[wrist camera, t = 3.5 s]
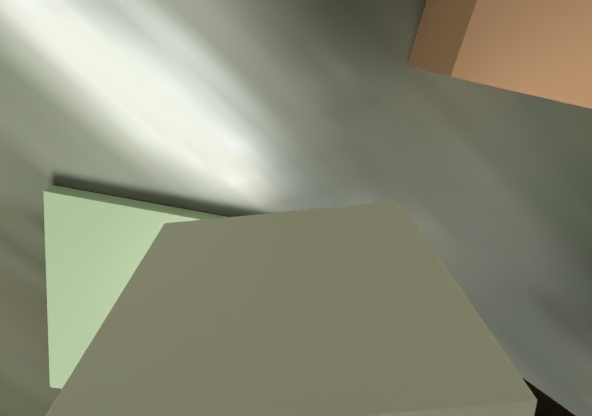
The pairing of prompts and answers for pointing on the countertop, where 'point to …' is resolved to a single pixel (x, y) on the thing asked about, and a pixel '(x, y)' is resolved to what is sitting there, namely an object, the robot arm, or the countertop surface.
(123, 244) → the plate
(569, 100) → the terracotta brick
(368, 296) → the cream brick
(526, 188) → the countertop surface
